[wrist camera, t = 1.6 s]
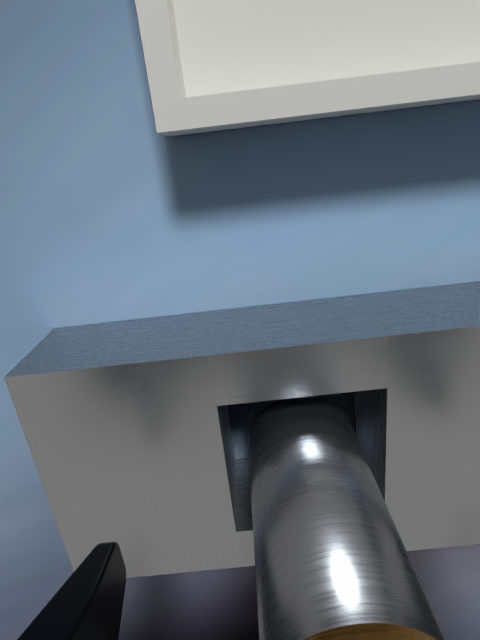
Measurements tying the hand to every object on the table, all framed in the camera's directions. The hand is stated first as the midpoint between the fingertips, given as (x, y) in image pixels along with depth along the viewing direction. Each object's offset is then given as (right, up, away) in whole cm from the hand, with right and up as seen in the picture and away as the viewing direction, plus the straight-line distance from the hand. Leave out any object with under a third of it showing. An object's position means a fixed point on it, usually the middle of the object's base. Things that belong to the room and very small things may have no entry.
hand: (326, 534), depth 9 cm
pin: (0, +2, +5) cm, 5 cm away
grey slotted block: (+1, +2, +5) cm, 5 cm away
